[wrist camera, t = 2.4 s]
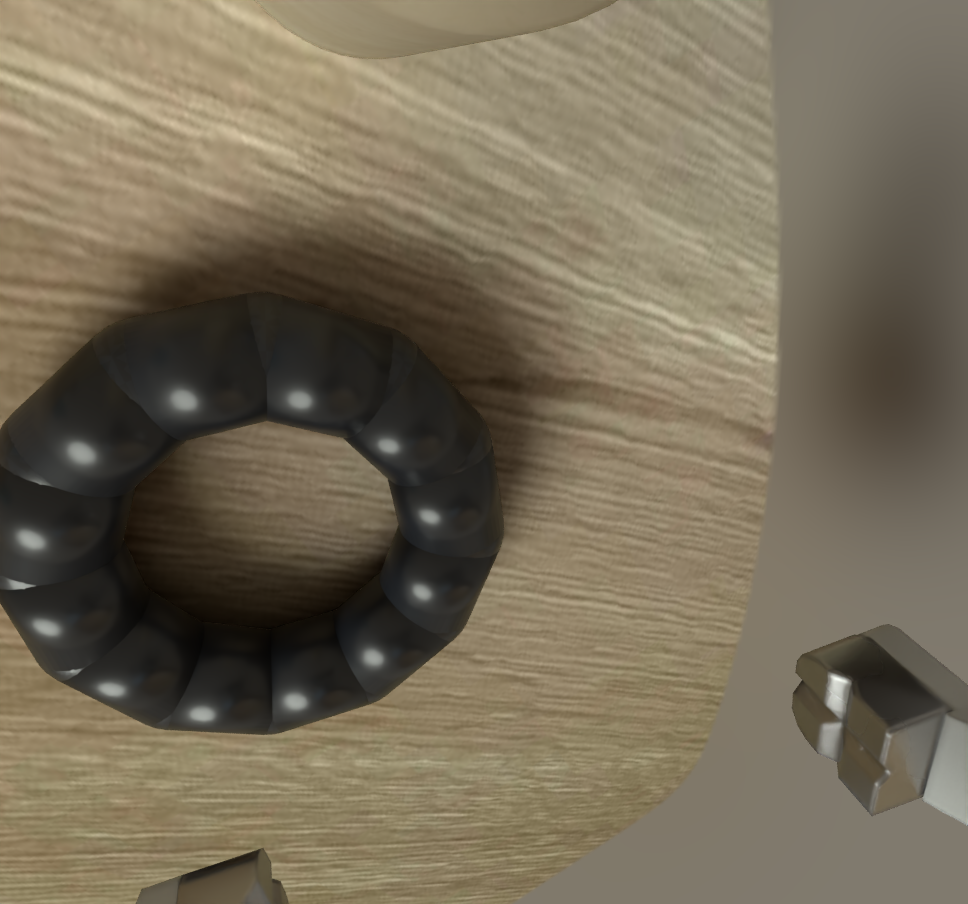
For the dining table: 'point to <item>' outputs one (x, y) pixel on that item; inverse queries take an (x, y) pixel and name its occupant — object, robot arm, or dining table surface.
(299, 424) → the ring
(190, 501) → the dining table surface
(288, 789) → the dining table surface
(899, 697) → the robot arm
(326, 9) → the candle
